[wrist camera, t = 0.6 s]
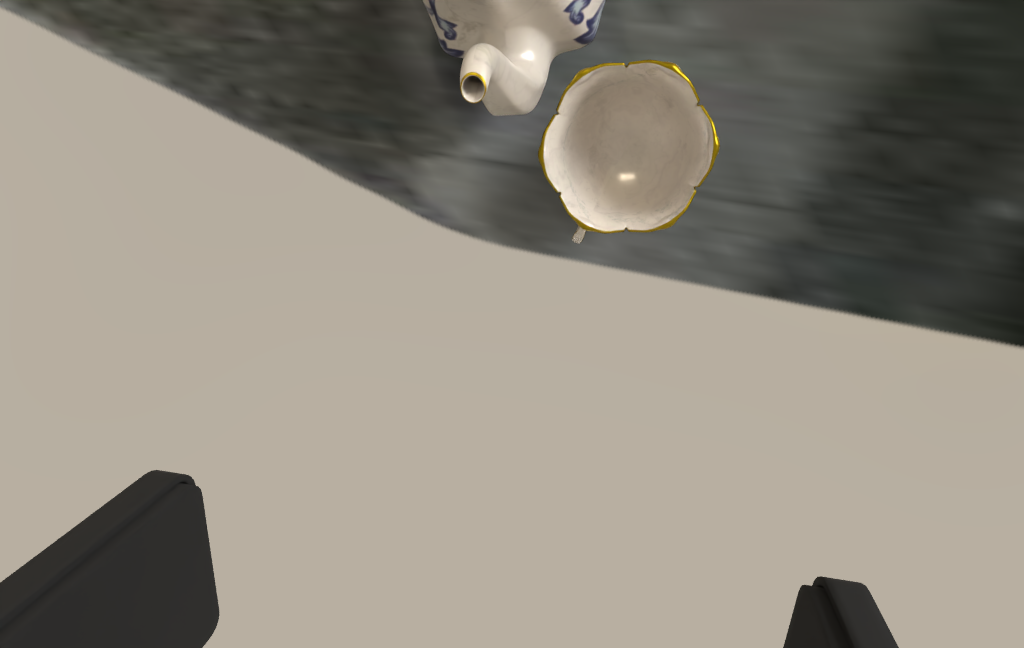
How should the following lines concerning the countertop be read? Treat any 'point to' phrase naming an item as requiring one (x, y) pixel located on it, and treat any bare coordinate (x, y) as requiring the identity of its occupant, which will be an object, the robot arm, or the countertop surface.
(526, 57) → the chinaware
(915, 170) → the countertop surface
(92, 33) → the countertop surface
